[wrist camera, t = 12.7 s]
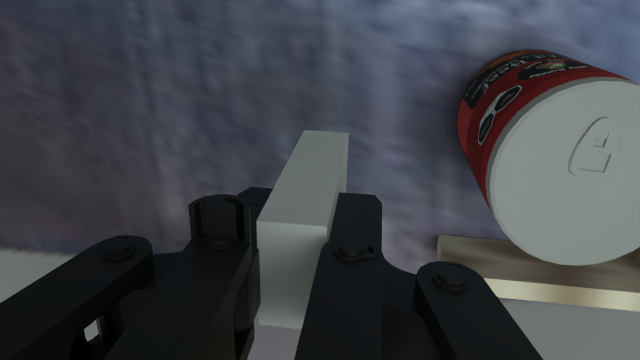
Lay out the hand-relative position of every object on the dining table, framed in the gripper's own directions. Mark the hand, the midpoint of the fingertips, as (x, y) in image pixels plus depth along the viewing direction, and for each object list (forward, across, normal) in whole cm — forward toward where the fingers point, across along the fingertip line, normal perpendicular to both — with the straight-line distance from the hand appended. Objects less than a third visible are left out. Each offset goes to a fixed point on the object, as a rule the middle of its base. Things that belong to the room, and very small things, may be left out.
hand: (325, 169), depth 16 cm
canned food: (+15, +10, -1) cm, 18 cm away
